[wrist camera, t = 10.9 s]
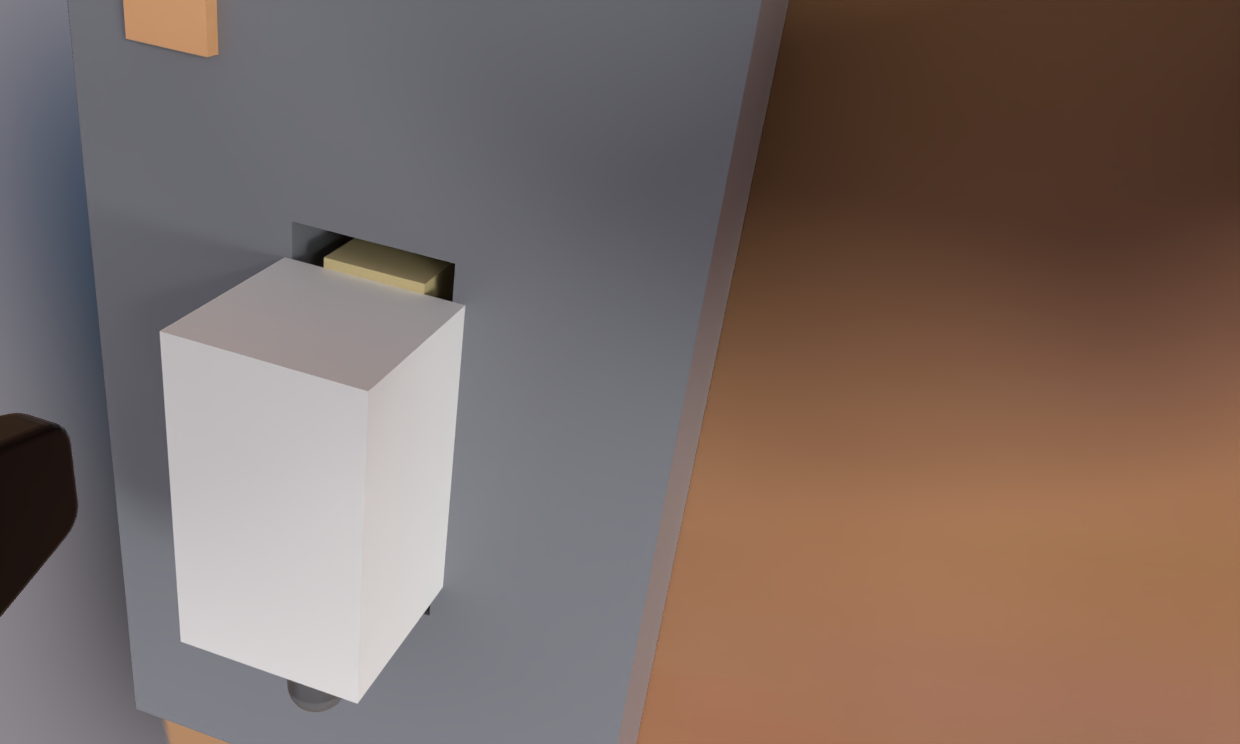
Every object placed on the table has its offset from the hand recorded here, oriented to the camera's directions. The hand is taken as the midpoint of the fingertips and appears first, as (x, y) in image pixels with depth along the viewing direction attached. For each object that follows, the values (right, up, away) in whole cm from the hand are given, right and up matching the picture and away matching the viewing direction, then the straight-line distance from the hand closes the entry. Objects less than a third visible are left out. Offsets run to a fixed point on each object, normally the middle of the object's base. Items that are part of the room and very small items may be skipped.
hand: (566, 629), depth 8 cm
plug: (-4, +1, +15) cm, 16 cm away
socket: (-4, +2, +15) cm, 16 cm away
